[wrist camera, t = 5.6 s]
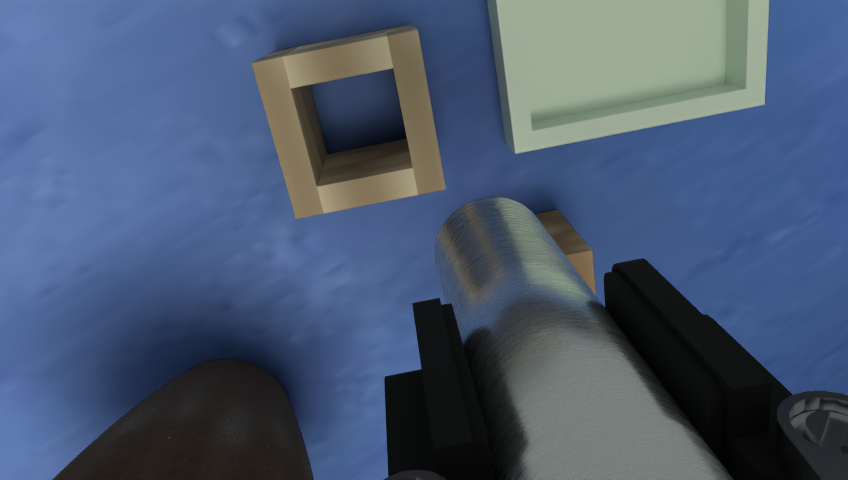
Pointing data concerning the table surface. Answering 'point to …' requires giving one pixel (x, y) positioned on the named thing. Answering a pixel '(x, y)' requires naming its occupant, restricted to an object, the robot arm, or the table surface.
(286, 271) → the table surface
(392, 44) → the go block
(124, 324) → the table surface
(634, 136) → the table surface
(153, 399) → the plant pot
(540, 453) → the cylinder
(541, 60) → the tray
